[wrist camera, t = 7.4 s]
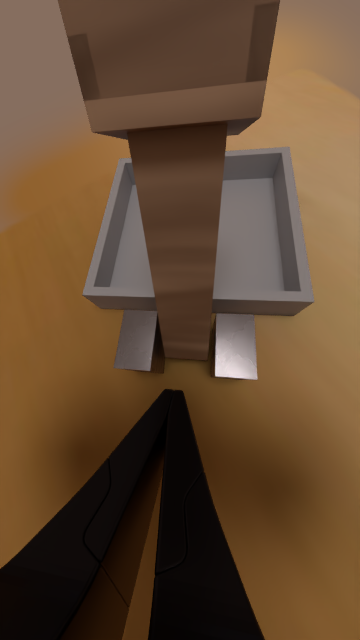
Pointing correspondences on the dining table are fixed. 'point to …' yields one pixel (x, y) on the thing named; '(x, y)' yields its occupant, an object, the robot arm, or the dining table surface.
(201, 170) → the lever
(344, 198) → the dining table surface
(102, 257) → the tray
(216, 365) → the lever stand
